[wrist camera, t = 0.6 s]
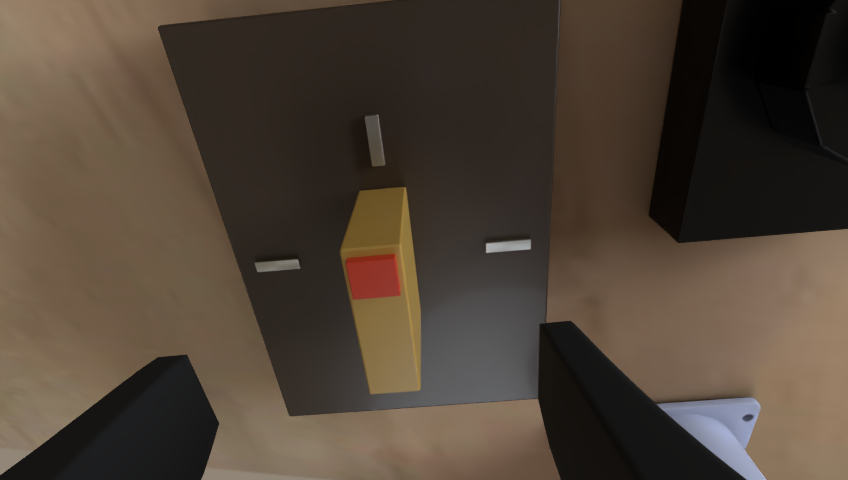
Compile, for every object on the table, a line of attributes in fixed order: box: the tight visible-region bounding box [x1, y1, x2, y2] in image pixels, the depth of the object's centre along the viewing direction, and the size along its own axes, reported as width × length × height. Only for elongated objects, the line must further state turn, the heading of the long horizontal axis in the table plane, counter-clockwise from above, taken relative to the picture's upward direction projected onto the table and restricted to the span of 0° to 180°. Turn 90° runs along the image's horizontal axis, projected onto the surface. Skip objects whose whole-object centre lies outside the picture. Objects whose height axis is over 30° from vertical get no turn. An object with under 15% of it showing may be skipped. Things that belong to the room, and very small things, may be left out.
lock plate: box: [158, 0, 561, 416], centre depth 15 cm, size 14×10×3 cm
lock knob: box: [340, 187, 421, 394], centre depth 12 cm, size 4×1×4 cm, turn 5°
